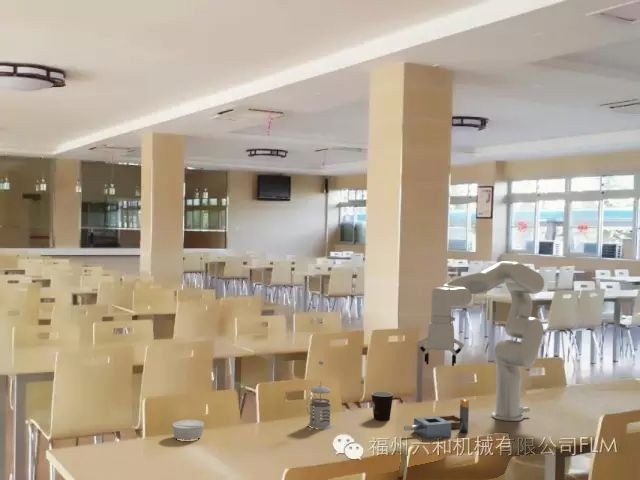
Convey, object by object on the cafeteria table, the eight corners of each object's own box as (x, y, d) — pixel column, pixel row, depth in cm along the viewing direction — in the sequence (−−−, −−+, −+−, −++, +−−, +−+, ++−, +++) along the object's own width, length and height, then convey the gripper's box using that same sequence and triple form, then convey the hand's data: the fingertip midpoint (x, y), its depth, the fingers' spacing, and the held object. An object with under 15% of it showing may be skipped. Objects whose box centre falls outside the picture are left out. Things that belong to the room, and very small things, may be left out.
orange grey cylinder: (465, 430, 270) (465, 398, 270) (469, 432, 267) (470, 400, 267) (457, 431, 269) (458, 399, 269) (462, 433, 266) (463, 401, 266)
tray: (454, 420, 284) (454, 414, 284) (467, 427, 274) (467, 421, 274) (427, 422, 279) (427, 417, 279) (440, 429, 270) (440, 423, 270)
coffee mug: (391, 422, 279) (391, 397, 279) (369, 420, 281) (370, 395, 281) (394, 415, 290) (394, 390, 290) (373, 413, 292) (373, 389, 292)
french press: (338, 426, 272) (339, 361, 272) (317, 431, 264) (318, 364, 264) (319, 421, 279) (320, 357, 279) (298, 426, 271) (299, 361, 270)
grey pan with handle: (437, 429, 271) (437, 416, 270) (450, 436, 261) (451, 423, 261) (398, 432, 265) (398, 419, 265) (411, 440, 255) (411, 426, 255)
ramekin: (177, 444, 245) (177, 429, 245) (168, 436, 255) (168, 421, 255) (208, 440, 250) (208, 425, 250) (198, 432, 260) (198, 418, 260)
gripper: (464, 319, 272) (463, 364, 272) (419, 317, 276) (418, 361, 276) (464, 322, 265) (463, 367, 265) (417, 320, 268) (416, 365, 269)
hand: (440, 364), depth 270 cm, fingers open, 9 cm apart
